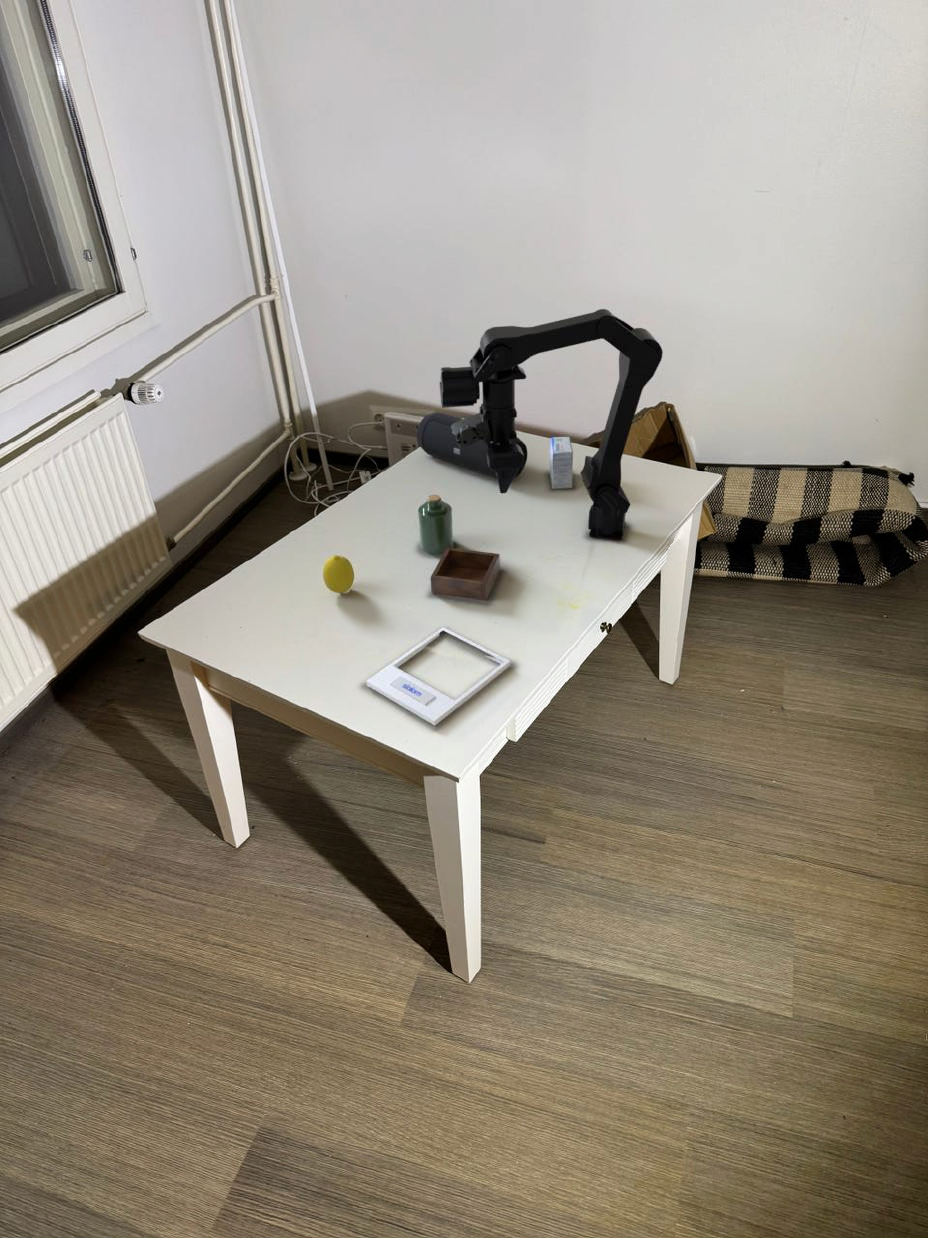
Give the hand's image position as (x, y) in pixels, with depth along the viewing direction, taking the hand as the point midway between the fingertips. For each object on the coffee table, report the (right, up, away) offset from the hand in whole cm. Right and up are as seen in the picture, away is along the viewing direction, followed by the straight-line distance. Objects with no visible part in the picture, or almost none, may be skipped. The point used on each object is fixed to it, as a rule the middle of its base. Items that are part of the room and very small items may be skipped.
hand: (499, 481), depth 164 cm
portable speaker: (-5, +9, +34) cm, 36 cm away
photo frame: (-11, -35, -25) cm, 44 cm away
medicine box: (+14, +4, +27) cm, 31 cm away
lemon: (-29, -21, -5) cm, 36 cm away
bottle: (-12, -12, +6) cm, 18 cm away
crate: (-6, -19, -4) cm, 21 cm away
